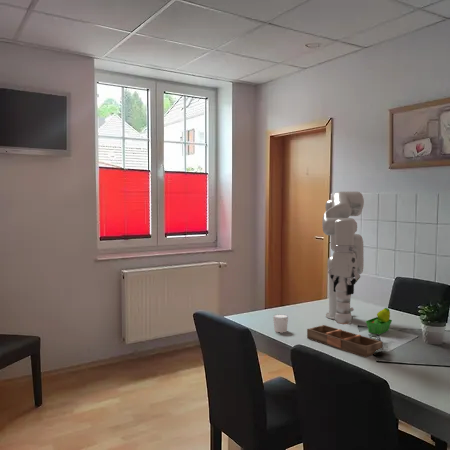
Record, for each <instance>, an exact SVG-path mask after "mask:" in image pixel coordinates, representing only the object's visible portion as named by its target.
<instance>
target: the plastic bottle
mask: <svg viewBox="0 0 450 450" xmlns="http://www.w3.org/2000/svg"><path fill="white" fill-rule="evenodd" d="M339 280H340V281H339V282H338V284H337V285H336V287H335V290H336V299H337V307H336V314H335V322H336V323H337V324H340V325H350V324H351V323H352V318H353V317H352V313H351V312H352V311H351V310H350V308H351V298H352V294H351V295H348V294H347V286H348V285H349V283H348V280H347V278H344V277H339Z"/></svg>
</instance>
